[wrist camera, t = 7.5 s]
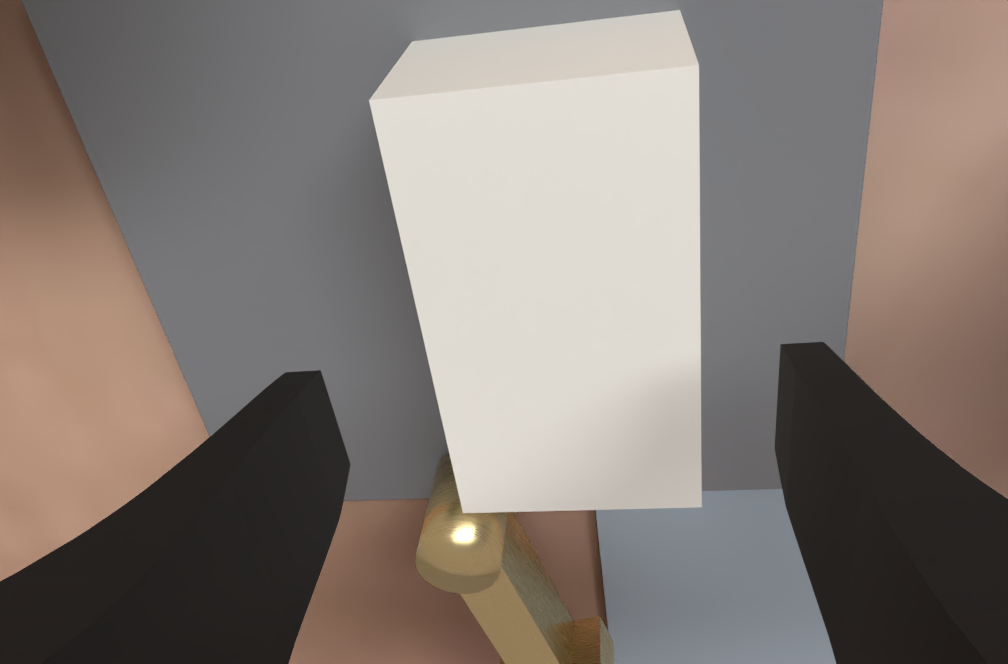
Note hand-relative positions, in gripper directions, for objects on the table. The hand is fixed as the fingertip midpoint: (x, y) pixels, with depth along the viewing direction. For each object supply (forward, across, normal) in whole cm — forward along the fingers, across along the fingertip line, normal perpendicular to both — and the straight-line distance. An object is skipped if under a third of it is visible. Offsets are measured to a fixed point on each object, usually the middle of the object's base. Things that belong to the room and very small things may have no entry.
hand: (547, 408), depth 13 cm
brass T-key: (+5, +2, +9) cm, 11 cm away
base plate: (+7, +2, 0) cm, 7 cm away
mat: (+7, -4, +13) cm, 15 cm away
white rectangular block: (+6, 0, 0) cm, 6 cm away
